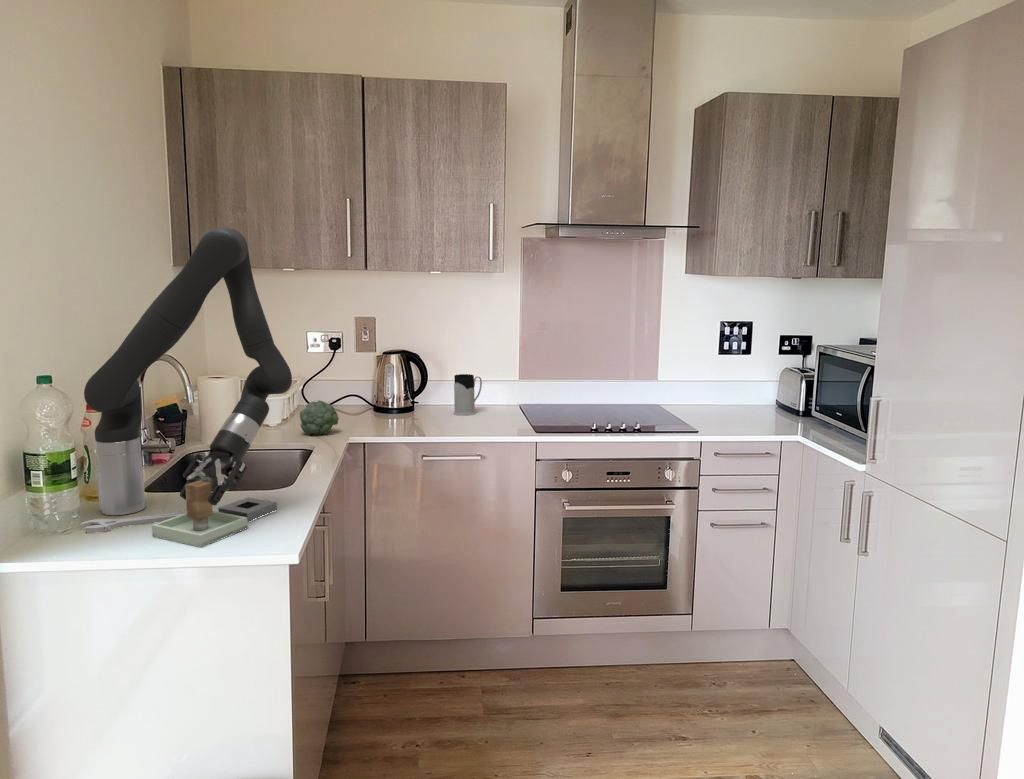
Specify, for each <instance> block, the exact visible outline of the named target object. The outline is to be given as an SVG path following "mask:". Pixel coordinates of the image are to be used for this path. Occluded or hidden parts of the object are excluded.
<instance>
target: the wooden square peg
mask: <svg viewBox="0 0 1024 779" xmlns="http://www.w3.org/2000/svg"><path fill="white" fill-rule="evenodd" d="M185 484H186V483H185ZM185 484H184V485H185ZM185 488H186V500H185V501H186V502H185V503H186V512H187V517H188V518H193V530H194V531H203V530H206V529H208V517H209V516H212V515H213V511H214V509H213V505H212V504H210V503H209V502H208V498H209V497H210V495H211V493H212V492H213V491H212V482H208V481H205V480H203V481H196V482H193V483H189V484H186V485H185Z"/></svg>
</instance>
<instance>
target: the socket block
mask: <svg viewBox="0 0 1024 779" xmlns="http://www.w3.org/2000/svg"><path fill="white" fill-rule="evenodd" d="M275 510H277V511H278V504H277V502H276V501H270V500H265V499H261V498H255V497H249V496H248V497H245V498H243V499H239V500H236V501H234V502H230V503H228V504H225V505H223V506H220V507H218V510H217V512H222V513H227V514H232V515H237V516H242V517H247V520H248V522H249V521H251V520H253V519H255V518H258V517H260V516H262V515H265V514H267V513H270V512H272V511H275ZM249 523H250V522H249Z"/></svg>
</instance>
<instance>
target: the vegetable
mask: <svg viewBox="0 0 1024 779" xmlns="http://www.w3.org/2000/svg"><path fill="white" fill-rule="evenodd" d="M299 418H300V419H299V420H300V422H301V423H300V428H301V430H302V431H303V433H306V435H307V436H312V435H311V434H313V435H316V434H318V435H320V434H323V435H324V434H325V433H329V432H330V430H332V428H333V426H337V425H338V424H339V419H340V418H339V415H338V412H337V411H336V409H335V407H334V406H333V405H332V404H331V403H327V402H325V401H323V400H316V401H311V402H309V403H308V404H306V406H305V408H304V409H302V410H301V411H300V412H299Z"/></svg>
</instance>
